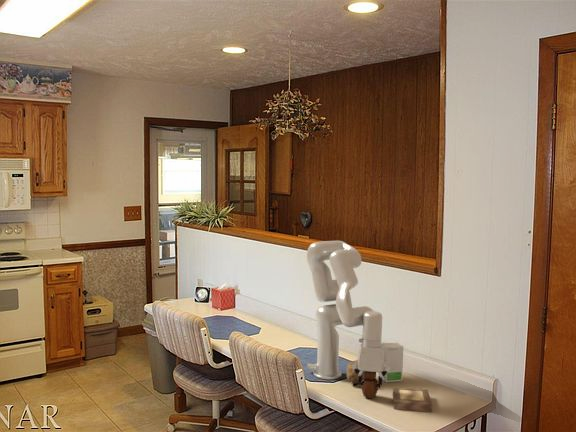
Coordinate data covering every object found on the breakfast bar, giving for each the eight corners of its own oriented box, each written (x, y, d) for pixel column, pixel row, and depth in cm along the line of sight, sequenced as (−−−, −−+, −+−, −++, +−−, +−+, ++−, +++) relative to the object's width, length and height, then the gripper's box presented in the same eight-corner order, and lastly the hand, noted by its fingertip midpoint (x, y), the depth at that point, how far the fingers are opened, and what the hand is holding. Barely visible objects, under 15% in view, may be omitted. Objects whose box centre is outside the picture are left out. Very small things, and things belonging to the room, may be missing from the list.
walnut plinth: (394, 408, 209) (394, 400, 209) (392, 394, 223) (392, 386, 223) (431, 411, 207) (431, 403, 207) (427, 397, 221) (427, 389, 221)
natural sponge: (368, 381, 237) (369, 359, 236) (364, 388, 228) (365, 365, 228) (348, 378, 240) (348, 356, 239) (343, 385, 232) (344, 362, 231)
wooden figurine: (367, 391, 224) (369, 356, 223) (379, 395, 221) (381, 360, 219) (358, 397, 219) (360, 360, 218) (371, 401, 216) (372, 364, 214)
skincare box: (385, 382, 236) (386, 347, 234) (378, 377, 242) (379, 343, 241) (403, 381, 238) (404, 346, 237) (396, 375, 244) (397, 341, 243)
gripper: (349, 343, 215) (348, 387, 217) (394, 347, 213) (392, 391, 215) (350, 337, 223) (348, 380, 224) (393, 341, 220) (391, 383, 222)
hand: (369, 385), depth 220 cm, fingers closed on wooden figurine, 6 cm apart
